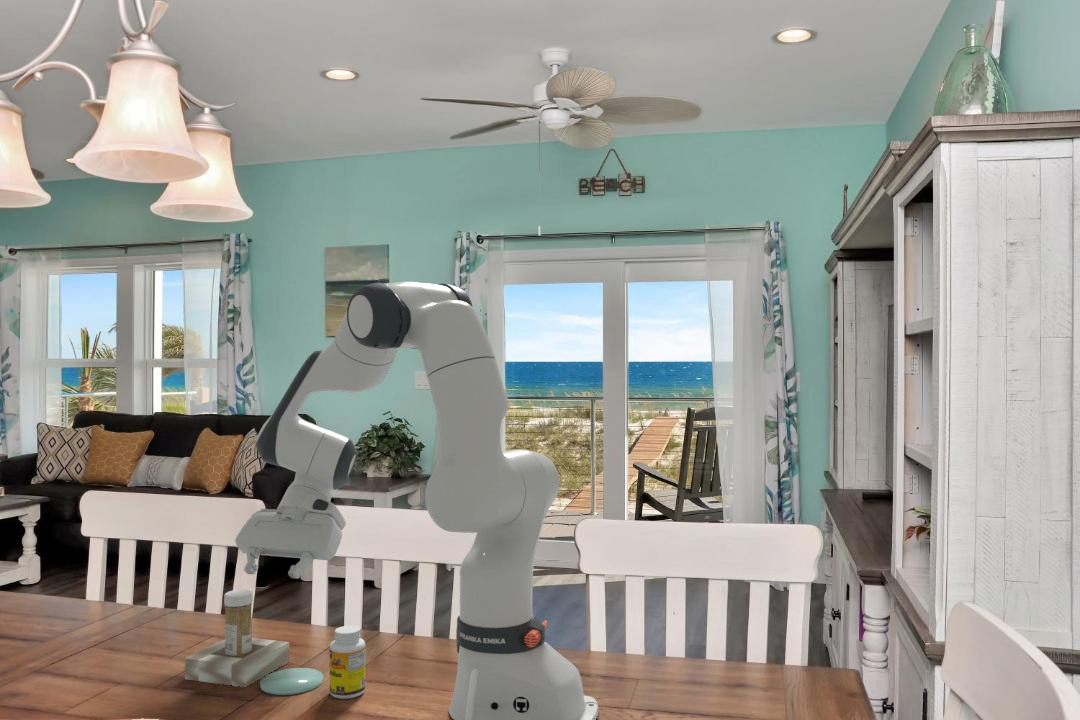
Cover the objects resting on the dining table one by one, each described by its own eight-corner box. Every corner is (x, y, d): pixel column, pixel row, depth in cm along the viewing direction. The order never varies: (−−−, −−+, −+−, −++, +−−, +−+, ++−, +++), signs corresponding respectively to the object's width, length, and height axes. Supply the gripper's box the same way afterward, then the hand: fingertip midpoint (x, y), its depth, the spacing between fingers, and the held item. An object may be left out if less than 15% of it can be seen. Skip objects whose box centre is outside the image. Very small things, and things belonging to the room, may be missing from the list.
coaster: (334, 675, 140) (334, 671, 140) (300, 698, 130) (300, 694, 130) (284, 668, 143) (284, 665, 143) (246, 690, 134) (246, 686, 134)
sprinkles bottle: (255, 671, 142) (255, 593, 142) (227, 677, 139) (227, 597, 139) (248, 663, 146) (248, 587, 146) (221, 669, 143) (221, 591, 143)
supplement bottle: (324, 692, 133) (323, 628, 133) (356, 683, 136) (356, 621, 136) (338, 703, 129) (338, 637, 129) (371, 694, 132) (371, 630, 132)
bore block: (289, 661, 146) (289, 642, 146) (245, 687, 135) (245, 666, 135) (232, 654, 150) (232, 635, 150) (185, 679, 138) (184, 658, 138)
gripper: (248, 499, 161) (214, 561, 152) (341, 504, 155) (311, 569, 146) (263, 517, 166) (231, 579, 156) (353, 523, 159) (325, 588, 150)
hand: (270, 574), depth 151 cm, fingers open, 8 cm apart
